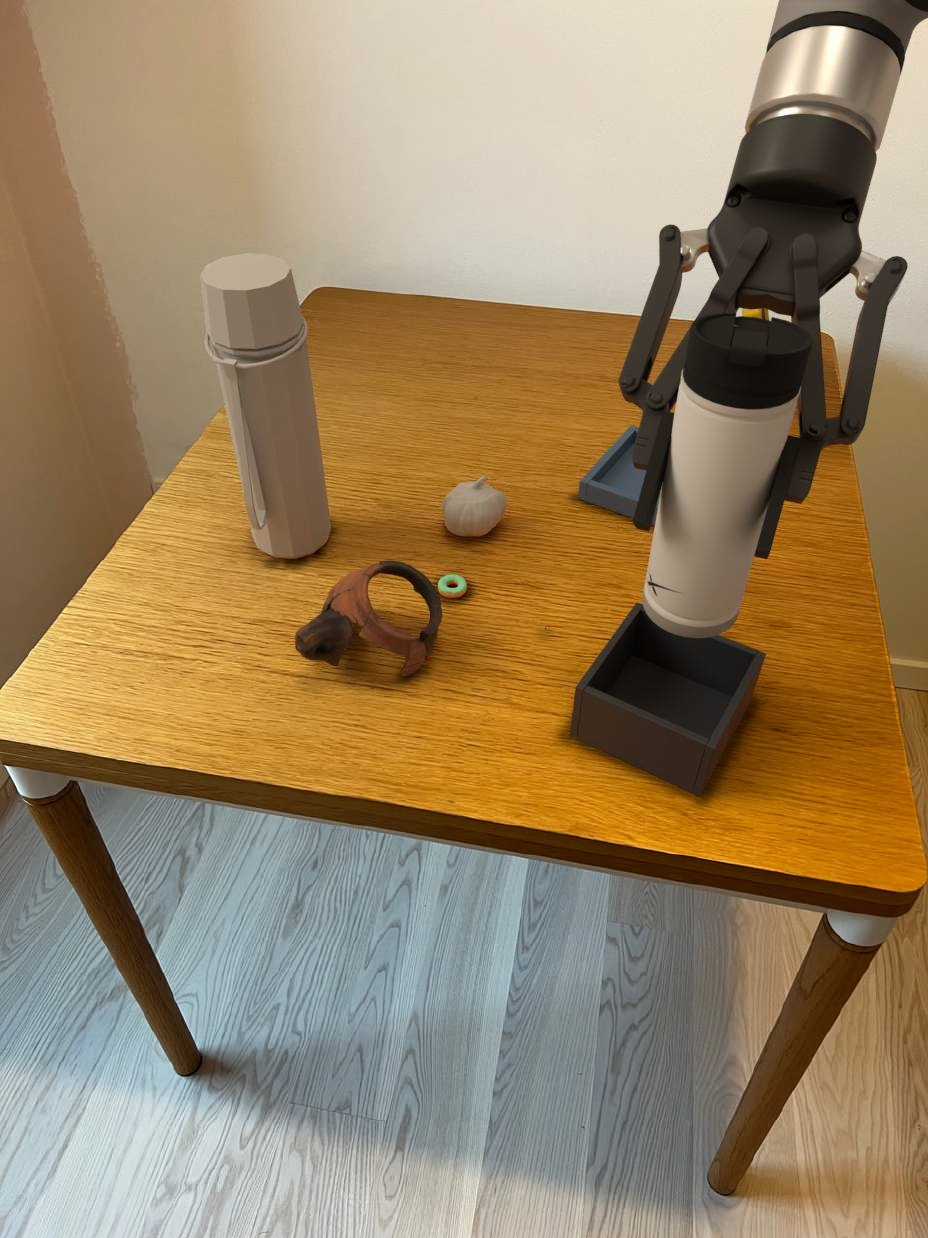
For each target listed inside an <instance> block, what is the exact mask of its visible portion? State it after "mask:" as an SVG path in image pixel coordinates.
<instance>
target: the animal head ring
mask: <svg viewBox="0 0 928 1238" xmlns="http://www.w3.org/2000/svg"><path fill="white" fill-rule="evenodd" d="M378 575H391V576H396V577H399V578H402V579H405V580H406V581H408V582H409V583H410V584H411V585H412V587H413V591H414V592H415V593H417V594H418V595H420V596H421V598H422V599H423V600H424V602H425V603H426V605H427V607H428V611H429V619H428V623H427V624H426V626H424V627H423V628H421V630H420V631H419V635H418V638H417V639H414V637H413V634H412V632H411V631H408V630H404V629H401V628H396V627H394V626H393V625H390V624H389V623H388V622H387V621H385V620H384V619H383V618H382V617H381V616H380V615H379V614H378V613H377V612H376V611H375V610H374V607H373V606H372V603H371V600H370V597H369V584H370V581H371V580H372V578H373V577H375V576H378ZM438 593H439V592H438V590H437V588H436V587H435V586H434V584H433V583H432V581H431V580H430V579H429V577H427V576H426V575H425V574H424V573H422V571H420V570H418V569H417V568H416V567H413V566H412V565H411V564H408V563H405V562H404V561H400V560H392V559H390V560H389V559H388V560H381V561H379V562H376V563H373V564H370V565H369V566H368V567H367V568H360V569H356V570H353V571H351V572H349V573H347V574H346V575H345V576H344V575H343V577H341V579H339V580H338V581H337V582H336V583H335V584H334V585H333V586H332V587H331V589H330V590H329V591H328V595H327V596H326V598H325V600H324V603H323V606H322V609H321V611H320V614H317V615H316V616H315V618H313V619H311V620H310V621H309V622H308V623H306V624H305V625H302V626H301V627H300V628H298V629H297V631H296V632H295V634H294V646H295V647H294V648H295V650H296V652H298V653H299V654H300V655H301V657H302V658H304V659H306V660H309V661H315V662H316V661H318V662H319V661H323V662H325V663H326V664H328V665H329V666H332V667H338V666H339V665H340V660H341V657H342V655H343V654H344V652H345V651H346V650H347V649H348V648H349V647H350V645H352V641H353V638H354V634H355V626H354V625H357V626H358V627H360V628H361V629H360V631H359V633H358V636H359V637H360V638H361V639H363V640H365V641H367V642H369V643H370V644H373V645H375V646H376V647H378V648H381V649H383V650H387V651H388V652H389V653H392V654H396V655H399V656H404V657H405V658H404V663H403V665H402V667H401V668H400V670H399V674H400V675H401V677H406V676H409V675H412V674H414V673H416V672H417V670H418V669H419V668H420V667H421V666H422V665H423V662H424V661H425V660H427V659H428V658H429V657H430V656H431V654H432V651H433V649H434V647H435V644H436V641H437V639H438V635H439V627H440V626H441V623H442V620H443V608H442V602H441V597H440V596H439V594H438Z"/></svg>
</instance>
